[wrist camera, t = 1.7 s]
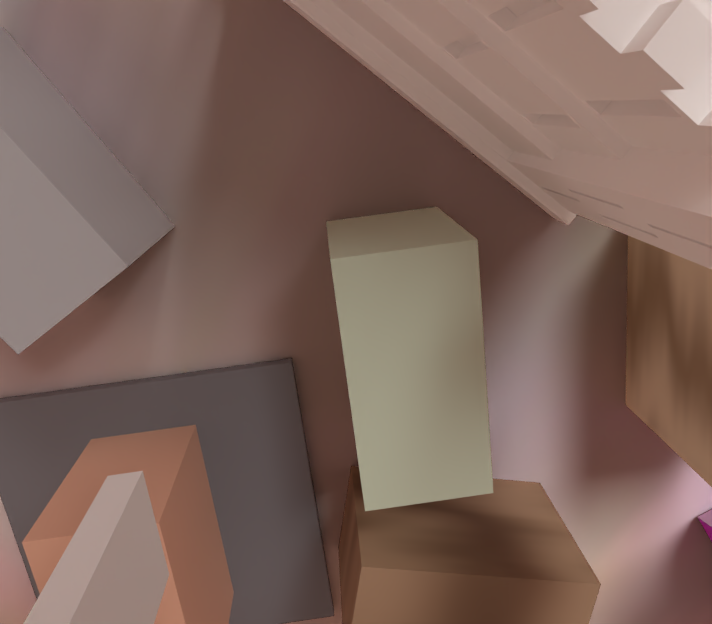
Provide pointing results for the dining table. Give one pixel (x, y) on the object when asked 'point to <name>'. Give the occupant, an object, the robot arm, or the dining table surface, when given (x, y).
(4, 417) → the felt mat
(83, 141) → the grey brick
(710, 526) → the toy
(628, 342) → the maple brick
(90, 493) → the terracotta brick
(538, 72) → the castle model
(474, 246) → the sage brick
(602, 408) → the dining table surface
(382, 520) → the walnut brick
